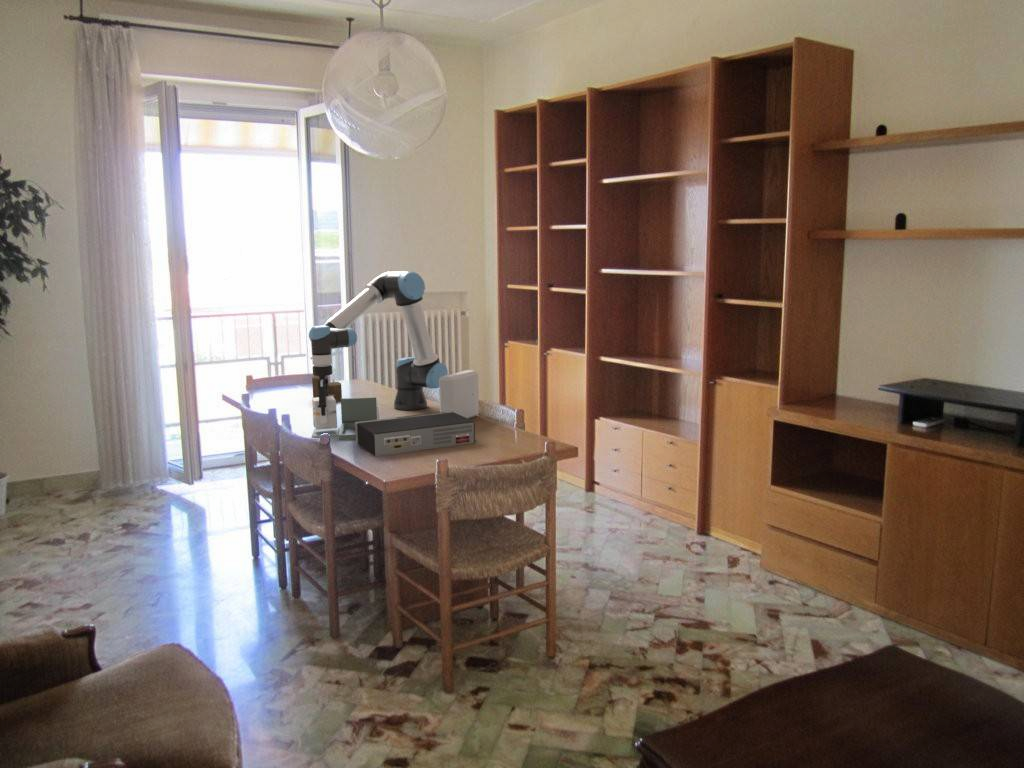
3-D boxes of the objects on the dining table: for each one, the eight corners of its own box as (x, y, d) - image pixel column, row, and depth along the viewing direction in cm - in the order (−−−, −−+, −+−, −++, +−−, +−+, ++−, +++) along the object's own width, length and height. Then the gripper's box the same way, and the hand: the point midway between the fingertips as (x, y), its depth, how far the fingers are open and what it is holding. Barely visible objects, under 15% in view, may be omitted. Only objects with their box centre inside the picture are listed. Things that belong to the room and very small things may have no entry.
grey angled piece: (380, 425, 347) (378, 397, 345) (378, 438, 324) (377, 408, 322) (342, 426, 345) (340, 398, 343) (338, 440, 322) (336, 410, 320)
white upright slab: (464, 414, 367) (463, 369, 364) (480, 415, 363) (479, 370, 360) (436, 423, 350) (435, 376, 346) (452, 425, 346) (451, 377, 342)
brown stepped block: (305, 403, 396) (304, 372, 393) (320, 398, 409) (318, 367, 406) (331, 404, 392) (330, 373, 390) (345, 399, 405) (344, 368, 402)
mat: (339, 429, 340) (339, 428, 340) (337, 436, 329) (337, 434, 328) (314, 430, 339) (314, 429, 339) (311, 437, 327) (311, 436, 327)
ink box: (313, 425, 336) (311, 397, 334) (334, 423, 339) (332, 395, 337) (315, 430, 328) (314, 400, 326) (337, 428, 331) (336, 399, 329)
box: (374, 457, 298) (373, 433, 297) (353, 442, 320) (352, 420, 319) (475, 443, 316) (474, 421, 315) (449, 430, 338) (449, 409, 337)
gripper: (315, 361, 339) (318, 415, 343) (309, 369, 318) (312, 427, 322) (333, 360, 340) (336, 414, 344) (329, 369, 319) (332, 426, 323)
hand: (325, 420), depth 333 cm, fingers closed on ink box, 9 cm apart
